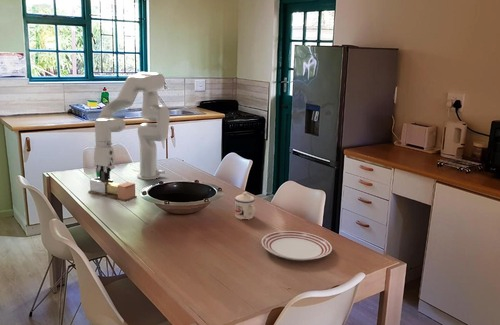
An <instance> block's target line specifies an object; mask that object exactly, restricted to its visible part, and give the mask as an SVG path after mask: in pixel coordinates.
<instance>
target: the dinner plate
mask: <svg viewBox="0 0 500 325" xmlns="http://www.w3.org/2000/svg"><path fill="white" fill-rule="evenodd" d="M261 245H262V247H263V248H264V249H265V250H266V251H268V252H269V253H271V254H272V255H275V256H277V257H279V258H283V259H286V260H291V261H313V260H317V259H321V258H323V257H326V256H329V255H330V253H332V250H333V247H332V245H331V243H330V242H329V241H328V240H327V239H325V238H323V237H321V236H319V235H316V234H313V233H309V232H304V231H294V230H282V231H281V230H279V231H275V232H270V233H268V234H266V235H264V236H263V237H262V239H261Z"/></svg>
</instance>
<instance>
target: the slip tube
mask: <svg viewBox="0 0 500 325" xmlns="http://www.w3.org/2000/svg"><path fill="white" fill-rule="evenodd" d="M104 173H105V170H103V171H101V181H103V182H106V184H105V186H106V192H108V193H112V194H116V195H118V185H120V184H121V183H117V182H114V181H113V182H109V181H108V180H104Z"/></svg>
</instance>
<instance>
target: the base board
mask: <svg viewBox="0 0 500 325" xmlns="http://www.w3.org/2000/svg"><path fill="white" fill-rule="evenodd" d="M87 193H88V194H90V195H95V196H100V197H103V198H106V199H111V200H115V201H119V202H124V203H126V202H127V203H128V202H129V201H132V200H135V199H137V197H138V195H135V196H134V197H131V198H129V199H126V200H125V199H121V198H118V195H116V194H112V193H107V194H102V193H98V192H93V191H90V190H88V192H87Z"/></svg>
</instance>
